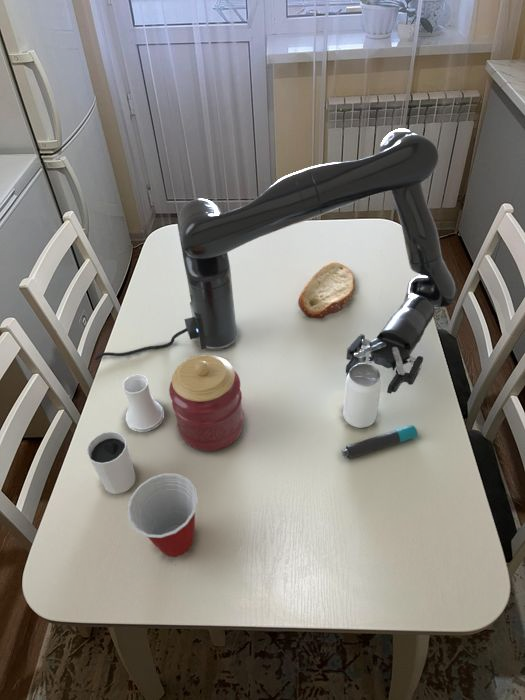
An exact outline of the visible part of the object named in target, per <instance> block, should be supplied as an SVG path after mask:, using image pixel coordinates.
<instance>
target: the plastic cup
mask: <svg viewBox="0 0 525 700" xmlns="http://www.w3.org/2000/svg"><path fill="white" fill-rule="evenodd" d="M198 500H199V498H198V494H197V489H196V486H195V485H194V484H193V483H192V481H191V480H190V479H189V478H188V477H186V476H184V475H181V474H179V473H172V472H171V473H170V472H169V473H168V472H167V473H166V472H164V473H160V474H157V475H154V476H151V477H150V478H148V479H146V480H145V481H144V482H142V483H140V484H139V485H138V487H137V488H136V489H135V491H134V492H133V493H132V494H131V496H130V498H129V501H128V505H127V508H126V513H127V520H128V523H129V524H130V526H131V527H132V528H133V530H134V531H135V532H137V533H138V534H140V535H142V536H144V537H146V538H148V539H149V540H150V542H151V543H152V544H153V545H154V546H155V547H156V548H157V549H158V550H159V551H160V553H162V554H164V555H165V556H168V557H175V558H176V557H179V556H182V555H184V554H185V553H186V552H188V551H189V549H190V548H191V546H192V545H193V542H194V537H195V535H194V534H195V523H196V521H195V520H196V509H197V505H198Z"/></svg>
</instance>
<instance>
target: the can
mask: <svg viewBox="0 0 525 700" xmlns="http://www.w3.org/2000/svg"><path fill="white" fill-rule="evenodd" d="M381 389H382V377H381V372H380V370H379V368H377V366H374V365H372V364H371V363H369V364H365V363H361V364H357V365H355V366H353V367H352V368H351V369H350V371H349V373H348V375H347V374H346V379H345V388H344V398H343V410H342V413H343V414H342V415H343V418H344V420H345V422H346V423H347V424H348V425H350V426H352V427H354V428H359V429H362V428H363V429H364V428H368V427H370V426H371V425H373V424H374V423H375V422H376V419H377V414H378V409H379V401H380V396H381Z"/></svg>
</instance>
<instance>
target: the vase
mask: <svg viewBox="0 0 525 700" xmlns="http://www.w3.org/2000/svg"><path fill="white" fill-rule="evenodd" d="M122 389H123V391H124V393H125V395H126V398H127V403H128V409H127V411H126V412H125V422H126V425H127V426H128V428H129V429H130V430H132V431H134V432H138V433H147V432H150V431H153V430H155V429H157V428H158V427H159V426H160V425H161V424H162V422H163V421H164V418H165V411H164V407H163V406H162V405H161V403H159V402H158V401H156V400H155V399H154V397H153V396H152V394H151V390H150V387H149V379H148V378H147V376H145V375H143V374H138V373H137V374H132V375H129V376H128V377H126V378H125V379H124V380H123V382H122Z"/></svg>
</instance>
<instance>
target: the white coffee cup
mask: <svg viewBox="0 0 525 700" xmlns="http://www.w3.org/2000/svg"><path fill="white" fill-rule="evenodd" d="M86 455H87V457H88V459H89V460H90V463H91V465H92V467H93V468H94V471H95V472H96V474H97V476H98V477H99V479H100V482H101V483H102V485H103V487H104V489H105V491H107V492H108V493H110V494H113V495H118V494H124V493H125V492H127V491H129V490H130V489H131V488H132V487H133V486H134V484H135V481H136V472H135V468H134V465H133V461H132V458H131V453H130V450H129V447H128V444H127V440H126V438H125V436H124V435H122V434H121V433H119V432H116V431H106V432H101V433H99V434H97V435H95V437H94V438H92V439H91V440H90V442H89V443H88V444H87V447H86Z"/></svg>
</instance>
